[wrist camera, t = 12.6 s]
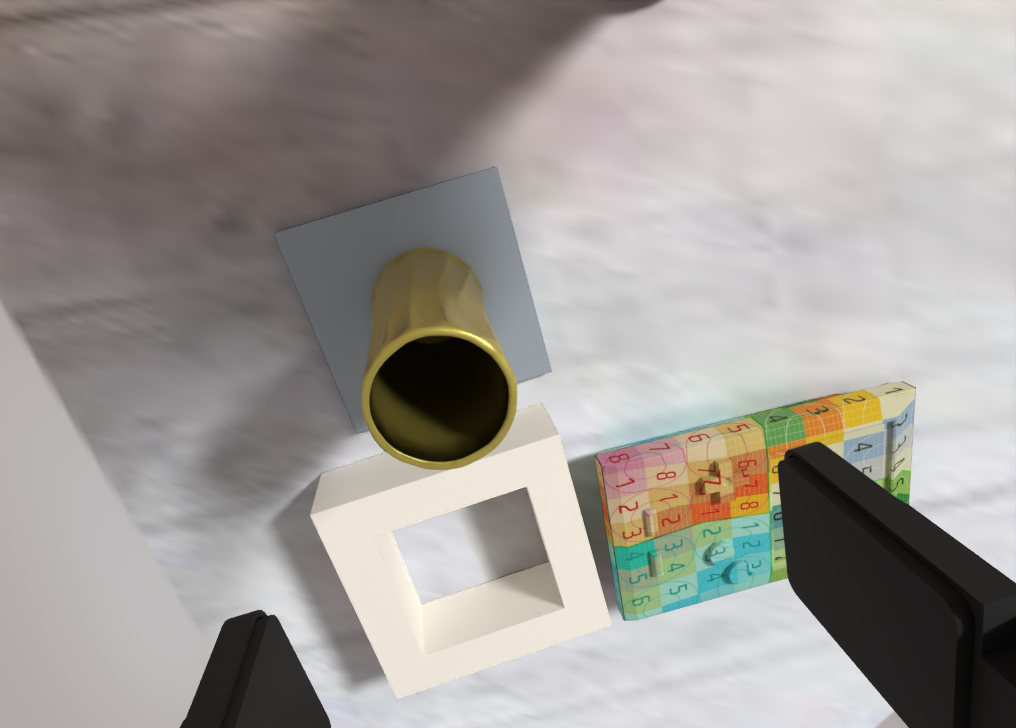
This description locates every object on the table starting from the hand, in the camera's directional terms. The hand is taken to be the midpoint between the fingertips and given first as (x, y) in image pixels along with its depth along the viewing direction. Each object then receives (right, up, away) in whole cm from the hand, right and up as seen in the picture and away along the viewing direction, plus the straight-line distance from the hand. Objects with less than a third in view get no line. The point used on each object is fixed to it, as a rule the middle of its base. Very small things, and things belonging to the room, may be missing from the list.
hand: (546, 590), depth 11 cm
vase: (-5, +8, +23) cm, 24 cm away
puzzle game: (+15, -4, +31) cm, 34 cm away
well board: (-3, -7, +28) cm, 29 cm away
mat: (-5, +7, +23) cm, 25 cm away
